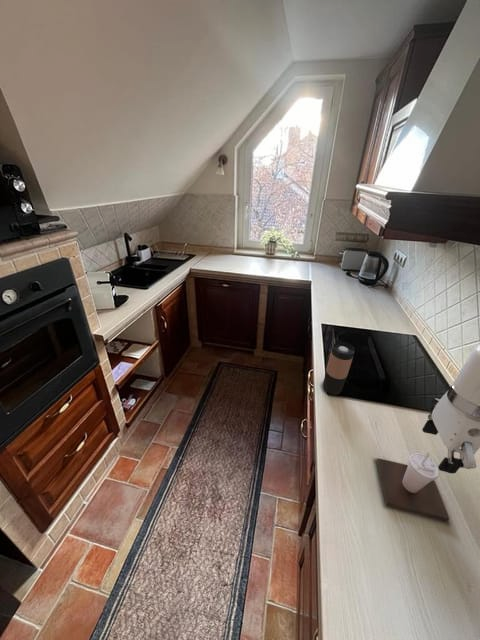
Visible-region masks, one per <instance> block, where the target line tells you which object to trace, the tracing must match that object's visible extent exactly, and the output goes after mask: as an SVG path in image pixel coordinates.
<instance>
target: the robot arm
mask: <svg viewBox="0 0 480 640" xmlns="http://www.w3.org/2000/svg"><path fill="white" fill-rule="evenodd" d="M429 410H430V413H429V414H428V415H427V420H426V422H425V424H424V425H423V427H422V428H421V430H422V432H423V433H424V434H429V435H435V436H436V435H437V436H438V435H439V437H440V438H441V441H442V443H443V445H444V446H445V448H446V449H447V457H446V456H445V457H443V459H442V460H441V462H440V463H439V465H437V467H438V470H439V472H444V473H445V472H446V473H448V474H456V473H457V472H458V471H459V470H460V468H461V469H467V470H470V469H471V470H472V469H477V463H476V459H475V454H476V453H477V452H478V450H479V449H480V344H478V345H476V346H475V347H474V348H473V349H472V350H471V353H470V354H469V356H468V357H467V359H466V361H465V362H464V364H463V365H462V367H461V369H460V370H459V372H458V374H457V376H456V378H454V381H453V382H452V384H451V385H450V387H449V389H448V390H447V391H446V392H445V393H444V394H443V395H442V396H441V398H436V397H433V398H432V402H431V406H430V407H429ZM455 453H459V458H458V457H455Z"/></svg>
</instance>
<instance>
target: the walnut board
mask: <svg viewBox="0 0 480 640" xmlns="http://www.w3.org/2000/svg"><path fill="white" fill-rule="evenodd" d="M375 463H376V467H377V468H376V469H377V472H378V477H379V481H380V485H381V486H380V487H381V491H382V495H383V499H384V505H385V506H387V507H389V508H390V507H391V508H395V509H398V510H402V511H405V512H409V513H414V514H417V515H420V516H425V517H428V518H433V519H436V520H440V521H443V522H448V521H449V520H450V517H449V513H448V511H447V509H446V506H445V504H444V501H443V499H442V496H441V494H440V492H439V489H438V486H437V484H436V480H433V481H430V482H429V483H428V484H427V485H425V486H424V487H423V488H421V489H420V490H419V491H418V492H416V493H412V492H409V491H408V490H407V489H406V488H405V487H404V486H403V483H402V481H403V478H404V475H405V472H406V469H407V466H408V464H405V463H400V462H397V461H392V460H387V459H383V458H380V457H377V458H376V460H375Z"/></svg>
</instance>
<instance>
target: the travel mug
mask: <svg viewBox="0 0 480 640" xmlns="http://www.w3.org/2000/svg"><path fill="white" fill-rule="evenodd" d="M354 355H355V347H353V345H352V344H350V343H347V342H344V341H337V342H334V343H333V344H332V347H331V351H330V355H329V357H328V361H327V365H326V369H325V373H324V377H323V383H322V389H323V391H324V392H325V393H326V394H329V395H331V396H338V395H340V394H341V393H342V391H343V388H344V385H345V383H346V380H347V378H348V375H349V371H350V368H351V365H352V362H353V359H354Z"/></svg>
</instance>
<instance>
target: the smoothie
mask: <svg viewBox="0 0 480 640" xmlns="http://www.w3.org/2000/svg"><path fill="white" fill-rule="evenodd" d="M430 455H431V453H430V452H427V453H426V454H422V453H418V452H415V453H412V454H411V455H410V456H409V457H408V460H407V461H408V463H407V465H408V466H407V469H406V472H405V475H404V478H403V481H402V483H403V486H404V487H405V488H406V489H407V490H408V491H409V492H412V493H416V492H418V491H419V490H420V489H421V488H423V487H424V486H425V485H427V484H428V483H429V482H430V481H433V480H434V481H436V480H437V479H438V477H439V475H440V470H439V469H438V465H437V464H436V463H435V462H434V461H433V459H431V458H429V457H430Z"/></svg>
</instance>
